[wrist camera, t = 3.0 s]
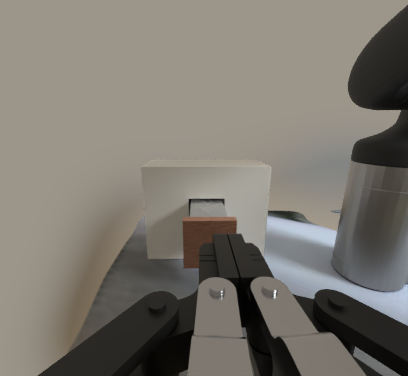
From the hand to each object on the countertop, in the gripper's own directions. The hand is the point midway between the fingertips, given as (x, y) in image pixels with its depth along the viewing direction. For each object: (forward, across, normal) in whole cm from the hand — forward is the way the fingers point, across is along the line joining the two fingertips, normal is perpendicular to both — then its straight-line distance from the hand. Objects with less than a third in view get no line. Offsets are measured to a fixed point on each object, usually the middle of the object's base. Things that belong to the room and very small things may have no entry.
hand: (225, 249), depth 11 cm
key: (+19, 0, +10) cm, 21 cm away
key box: (+26, 0, +15) cm, 30 cm away
